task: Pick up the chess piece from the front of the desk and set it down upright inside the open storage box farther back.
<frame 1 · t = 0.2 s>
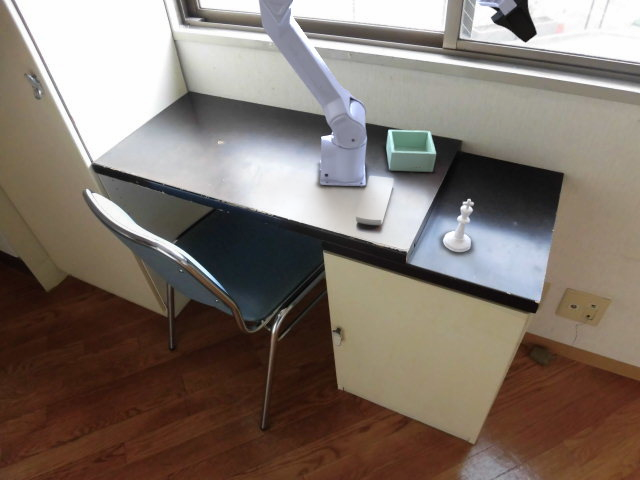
hand: (524, 29, 79), 31 cm above the table, tool tilted 45°, fingers open, 7 cm apart
chess piece: (456, 243, 87), on the table
open storage box: (408, 159, 106), on the table
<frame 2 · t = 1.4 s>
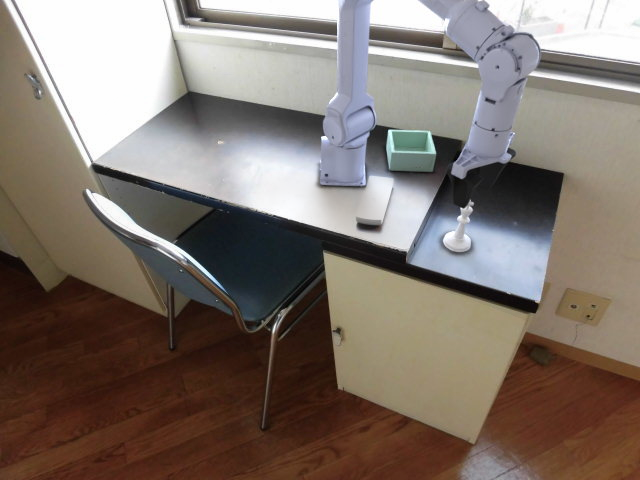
hand: (472, 195, 79), 11 cm above the table, tool pointing down, fingers open, 7 cm apart
nothing on the table moved.
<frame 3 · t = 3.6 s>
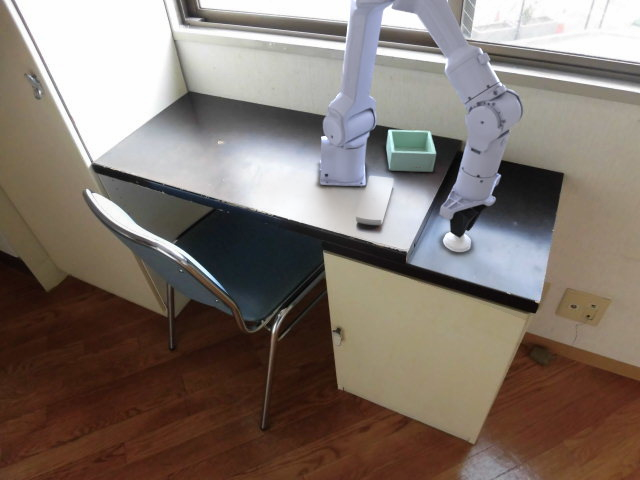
hand: (460, 231, 84), 3 cm above the table, tool pointing down, fingers closed on chess piece
chess piece: (456, 243, 87), on the table, touching gripper
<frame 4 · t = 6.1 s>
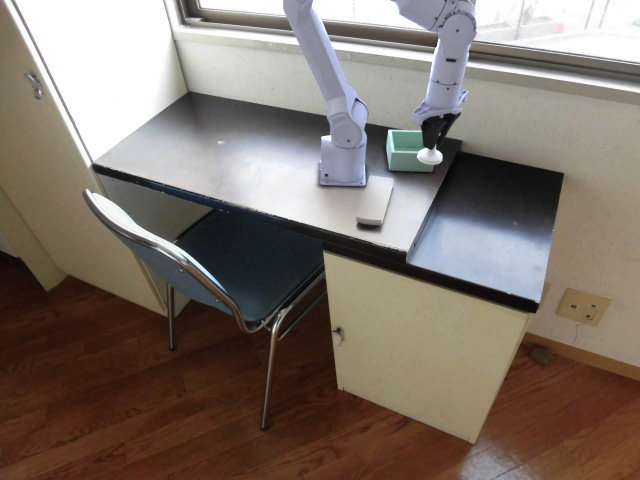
hand: (432, 145, 92), 10 cm above the table, tool pointing down, fingers closed on chess piece
chess piece: (429, 158, 94), point 7 cm above the table, touching gripper
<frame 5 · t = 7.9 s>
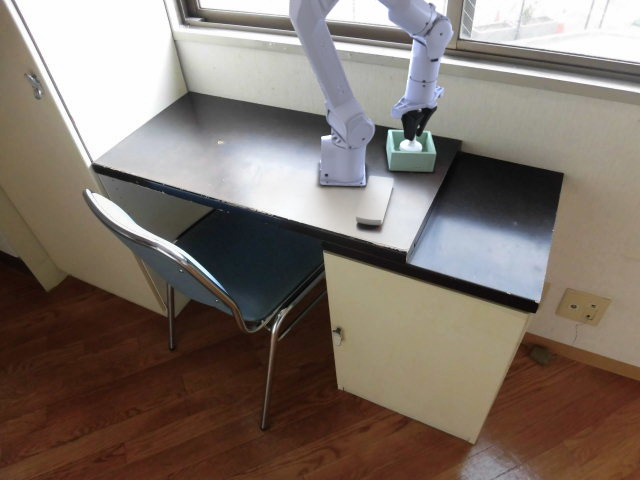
hand: (412, 137, 102), 6 cm above the table, tool pointing down, fingers closed on chess piece
chess piece: (410, 149, 104), point 3 cm above the table, touching gripper
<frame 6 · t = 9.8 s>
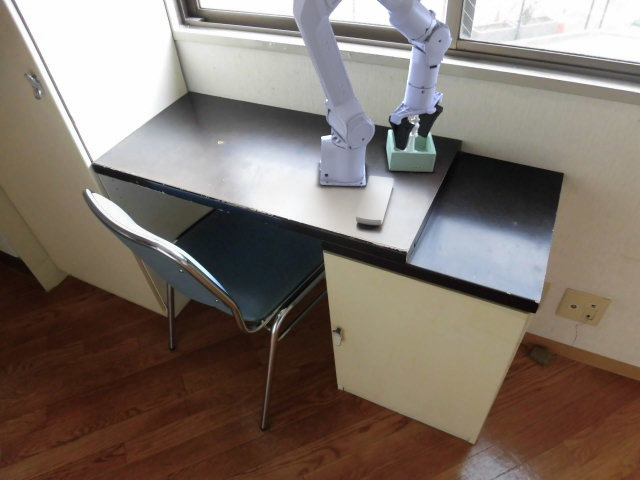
hand: (411, 142, 103), 4 cm above the table, tool pointing down, fingers open, 7 cm apart
chess piece: (409, 157, 106), resting on open storage box
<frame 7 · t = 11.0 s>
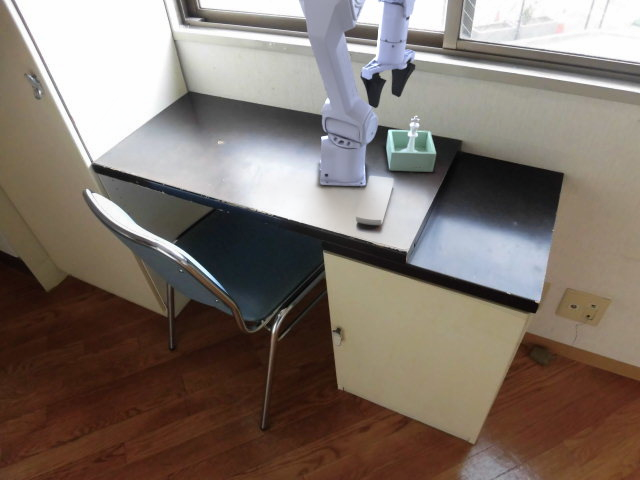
hand: (384, 100, 104), 10 cm above the table, tool pointing down, fingers open, 7 cm apart
nothing on the table moved.
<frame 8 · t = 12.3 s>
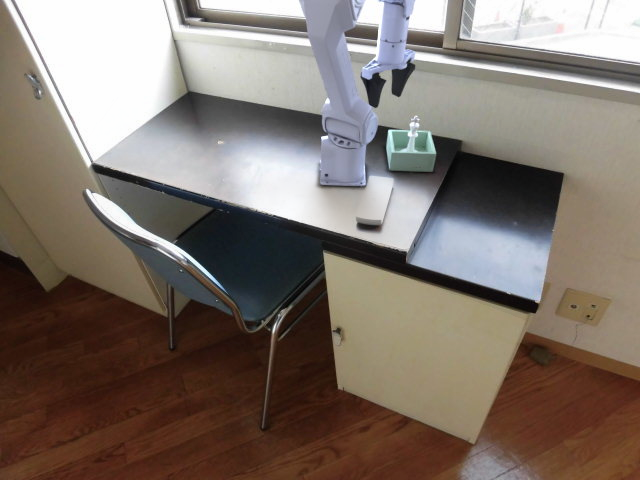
hand: (384, 100, 104), 10 cm above the table, tool pointing down, fingers open, 7 cm apart
nothing on the table moved.
at the end: chess piece inside the target area in the open storage box (0.0 cm from its centre), point 0.4 cm above the open storage box's base; chess piece tilted 0°; the gripper is holding nothing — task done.
